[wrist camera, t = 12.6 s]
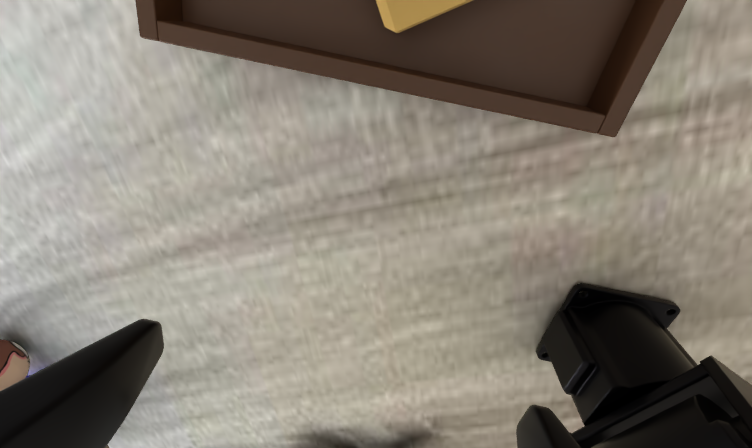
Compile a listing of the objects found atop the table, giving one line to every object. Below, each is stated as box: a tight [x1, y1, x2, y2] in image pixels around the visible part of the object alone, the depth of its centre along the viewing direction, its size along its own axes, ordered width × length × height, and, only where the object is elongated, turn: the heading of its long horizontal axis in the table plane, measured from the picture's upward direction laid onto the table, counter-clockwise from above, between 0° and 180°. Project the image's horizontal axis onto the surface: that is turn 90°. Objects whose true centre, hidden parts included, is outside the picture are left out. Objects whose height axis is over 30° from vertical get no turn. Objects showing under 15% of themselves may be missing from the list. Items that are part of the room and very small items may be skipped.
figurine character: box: [0, 339, 109, 448], centre depth 29 cm, size 7×8×15 cm
